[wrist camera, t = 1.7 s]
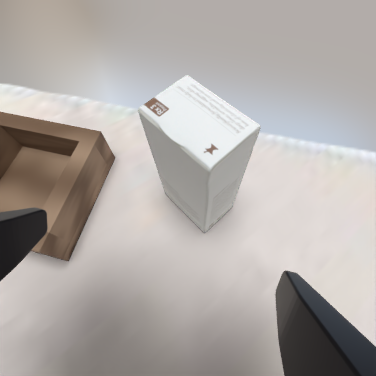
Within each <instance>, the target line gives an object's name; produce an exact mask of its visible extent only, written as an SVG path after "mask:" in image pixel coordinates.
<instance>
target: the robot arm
mask: <svg viewBox="0 0 376 376" xmlns="http://www.w3.org/2000/svg"><path fill="white" fill-rule="evenodd" d="M47 229H48V225H47V212H46V211H45V210H44V209H40V208H36V207H33V208H26V209H19V210H12V211H6V212H0V281H1V280H2V279H3V278H4V277H5V276H6V275H8V274H9V273H10V272H11V271H12V270H13V269H14V268H15V267H16V266H17V265H18V264H19V263H20V262H21V261H22V260H23V259H24V258H25V256H26V255H27V254H28V253H29V252H30V251H31V250H32V249H33V248H34V247H35V245H36V244H37V243H38V242H39V241H40V240H41V239H42V238H43V237H44V236H45V234H46V233H47ZM276 311H277V326H278V339H279V346H280V352H281V358H282V364H283V369H284V375H285V376H376V347H375V346H374V345H373V344H372V343H371V342H370V341H369V340H368V339H367V338H366V337H365V336H364V335H363V334H361V333H360V332H359V331H358V330H357V329H356V328H355V327H354V326H353V325H352V324H351V323H350V322H349V321H348V320H347V319H345V318H344V317H343V316H342V315H341V314H340V313H339V312H338V311H337V310H336V309H335V308H334V307H333V306H332V305H330V304H329V303H328V302H327V301H326V300H325V299H324V298H323V297H322V296H321V295H320V294H319V293H318V292H317V291H315V290H314V289H313V288H312V287H311V286H310V285H309V284H308V283H307V282H306V281H305V280H304V279H303V278H302V277H300V276H299V275H298V274H297V273H294V272H290V271H284V272H283V273H282V276H281V278H280V281H279V284H278V286H277V289H276Z"/></svg>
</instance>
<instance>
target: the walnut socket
mask: <svg viewBox="0 0 376 376" xmlns="http://www.w3.org/2000/svg"><path fill="white" fill-rule="evenodd" d="M114 159H115V157H114V155H113V153H112V151H111V149H110V148H109V146H108V144H107V142H106V140H105V138H104V136H103V135H102V133H101V131H95V130H90V129H85V128H80V127H75V126H70V125H65V124H60V123H55V122H50V121H44V120H39V119H34V118H29V117H24V116H19V115H14V114H9V113H4V112H0V212H6V211H12V210H19V209H26V208H33V207H36V208H40V209H44V210H45V211H46V212H47V225H48V229H47V233H46V234H45V236H44V237H43V238H42V239H41V240H40V241H39V242H38V243H37V244H36V245H35V247H34V248H33V249H32V250H31V251H33V252H37V253H40V254H44V255H48V256H51V257H55V258H59V259H62V260H66V261H69V258H70V256H71V254H72V252H73V250H74V247H75V245H76V243H77V241H78V239H79V236H80V234H81V232H82V230H83V227H84V225H85V223H86V221H87V219H88V216H89V214H90V212H91V210H92V208H93V205H94V203H95V201H96V199H97V197H98V194H99V192H100V190H101V188H102V186H103V183H104V181H105V179H106V177H107V174H108V172H109V170H110V168H111V166H112V163H113V161H114Z"/></svg>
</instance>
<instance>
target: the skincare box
mask: <svg viewBox="0 0 376 376" xmlns="http://www.w3.org/2000/svg"><path fill="white" fill-rule="evenodd" d="M138 112H139V115H140V119H141V122H142V125H143V128H144V131H145V134H146V137H147V140H148V143H149V146H150V149H151V152H152V155H153V158H154V161H155V164H156V167H157V170H158V173H159V176H160V179H161V182H162V185H163V188H164V191H165V194H166V195H167V196H168V197H169V198H170V199H171V200H172V201H173V202H174V203H175V204H176V205H177V206H178V207H179V208H180V209H181V210H182V211H183V212H184V213H185V214H186V215H187V216H188V217H189V218H190V219H191V220H192V221H193V222H194V223H195V224H196V225H197V226H198V227H199V228H200V229H201V230H202V231H203V232H207V231H208V230H209V229H210V228H211V227H212V226H213V225H214V224H215V223H216V222H217V221H218V220H219V219H220V218H221V217H222V216H223V215H224V214H225V213H226V212H227V211H228V210H229V209H230V208H231V207H232V206H233V203H234V200H235V198H236V195H237V192H238V189H239V186H240V184H241V181H242V178H243V175H244V172H245V170H246V167H247V164H248V161H249V159H250V156H251V153H252V150H253V147H254V144H255V142H256V139H257V137H258V134H259V131H260V125H259V124H257V123H256V122H255V121H253V120H252V119H250V118H249V117H247V116H246V115H244V114H243V113H241V112H240V111H238V110H237V109H235V108H234V107H232V106H231V105H230V104H228V103H227V102H225V101H224V100H223V99H221V98H220V97H218V96H216V95H215V94H214V93H212V92H211V91H210V90H208V89H207V88H205V87H204V86H202V85H201V84H200V83H198V82H197V81H195V80H194V79H192V78H191V77H190V76H188V75H186V76H185V77H183V78H181V79H180V80H179V81H177V82H175V83H174V84H172V85H171V86H170V87H168V88H167V89H165V90H164V91H162V92H161V93H160V94H158V95H157V96H155V97H154V98H153V99H151V100H150V101H148V102H147V103H145V104H144V105H142V106H141V107H139V109H138Z"/></svg>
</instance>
